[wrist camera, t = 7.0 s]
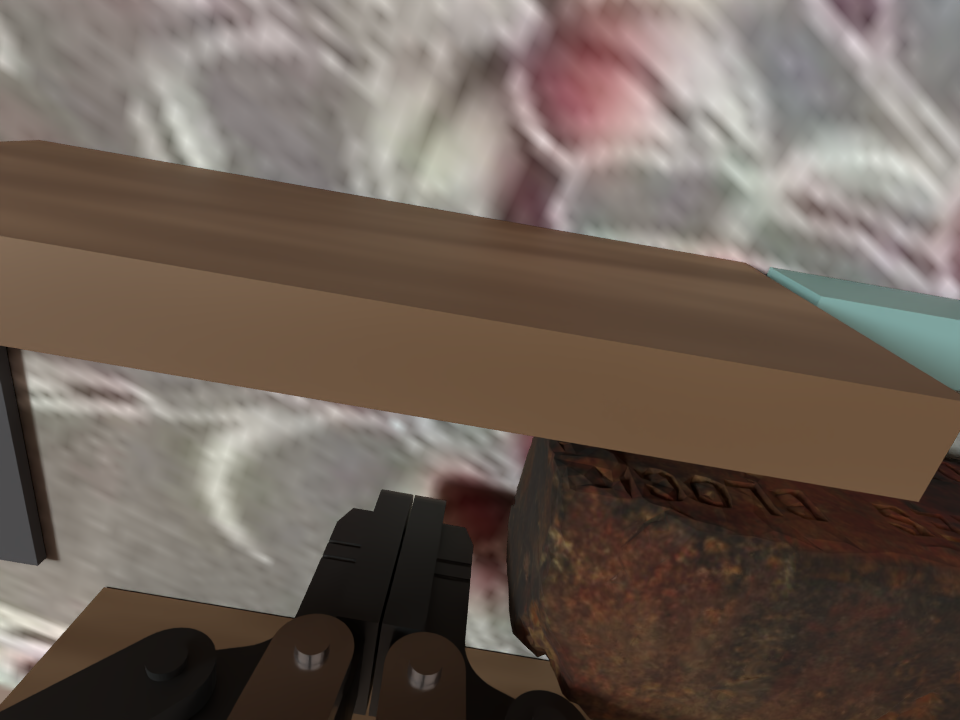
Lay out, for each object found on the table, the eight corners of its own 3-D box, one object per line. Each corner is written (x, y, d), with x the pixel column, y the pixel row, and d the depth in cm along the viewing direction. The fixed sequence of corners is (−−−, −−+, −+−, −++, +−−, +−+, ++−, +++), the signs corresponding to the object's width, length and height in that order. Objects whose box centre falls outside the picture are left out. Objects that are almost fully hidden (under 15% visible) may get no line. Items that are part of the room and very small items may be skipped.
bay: (770, 267, 11) (821, 296, 9) (1312, 361, 11) (1469, 408, 9) (607, 701, 16) (619, 775, 14) (979, 763, 16) (1039, 845, 14)
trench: (39, 140, 11) (-448, 158, 5) (745, 262, 11) (976, 403, 5) (108, 618, 16) (-106, 879, 10) (590, 698, 16) (629, 998, 11)
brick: (1013, 452, 12) (1322, 621, 8) (931, 595, 13) (1154, 809, 9) (535, 374, 11) (575, 513, 7) (498, 534, 13) (512, 736, 8)
